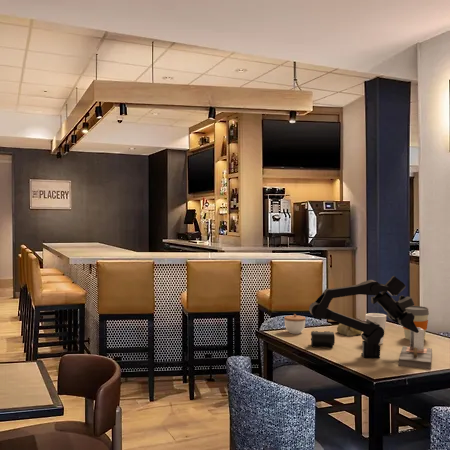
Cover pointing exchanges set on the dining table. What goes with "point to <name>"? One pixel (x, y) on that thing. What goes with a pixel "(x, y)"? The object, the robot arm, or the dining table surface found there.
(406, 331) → the reusable coffee cup
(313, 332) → the end cap
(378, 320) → the foam cup
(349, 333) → the pastry
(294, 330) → the lidded jar
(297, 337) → the dining table surface
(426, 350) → the post board
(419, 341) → the grey upright block
